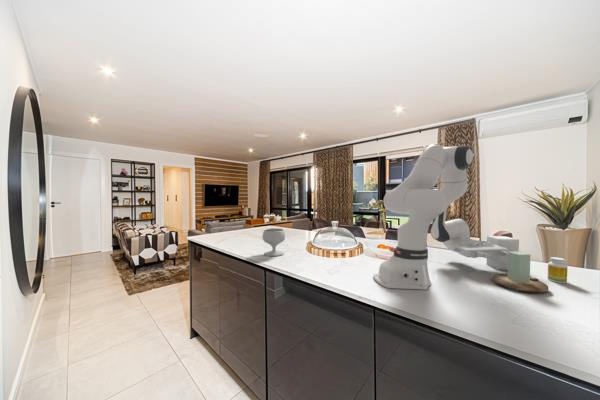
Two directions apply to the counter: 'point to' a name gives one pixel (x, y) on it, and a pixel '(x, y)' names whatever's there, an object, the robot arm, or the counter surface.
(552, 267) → the supplement bottle
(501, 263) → the supplement box
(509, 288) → the base
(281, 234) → the chalice
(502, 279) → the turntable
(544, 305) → the counter surface
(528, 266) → the spindle block
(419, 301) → the counter surface
